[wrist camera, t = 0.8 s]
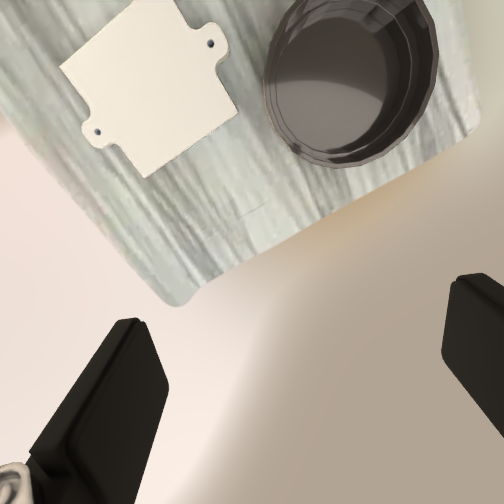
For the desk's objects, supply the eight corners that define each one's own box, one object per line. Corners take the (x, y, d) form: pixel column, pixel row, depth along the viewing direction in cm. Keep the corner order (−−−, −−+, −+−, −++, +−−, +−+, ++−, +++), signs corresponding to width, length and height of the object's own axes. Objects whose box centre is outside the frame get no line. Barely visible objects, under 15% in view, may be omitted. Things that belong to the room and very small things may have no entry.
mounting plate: (133, 186, 36) (127, 190, 34) (53, 84, 32) (42, 82, 30) (258, 99, 32) (258, 98, 30) (186, -32, 28) (182, -42, 26)
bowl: (239, 44, 30) (236, 28, 25) (388, -39, 27) (418, -75, 22) (293, 182, 36) (299, 192, 31) (421, 125, 33) (451, 126, 28)
